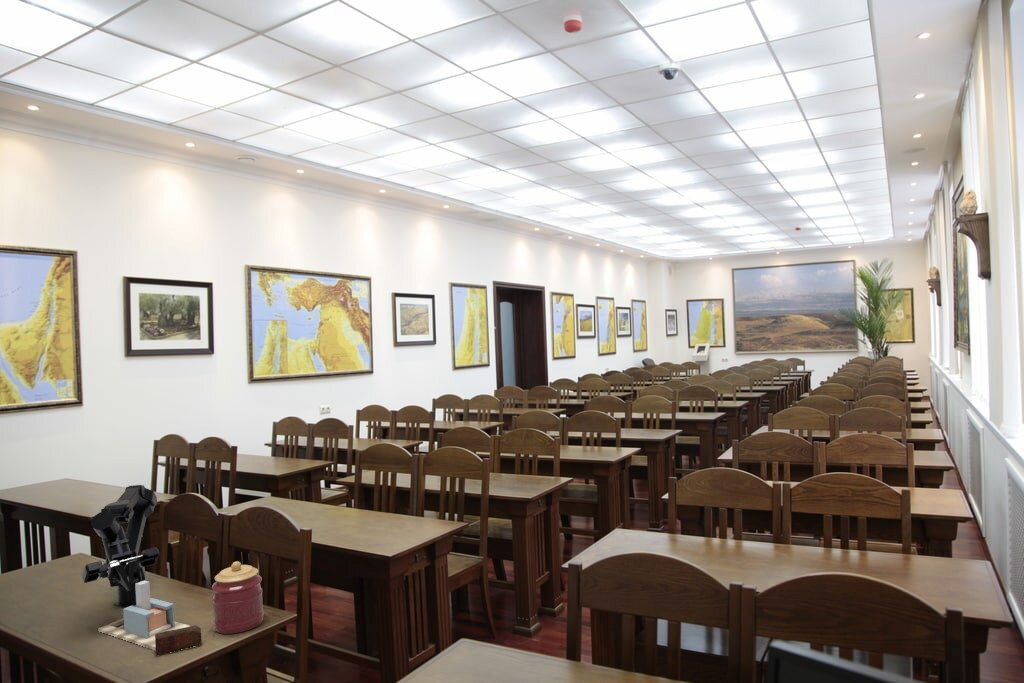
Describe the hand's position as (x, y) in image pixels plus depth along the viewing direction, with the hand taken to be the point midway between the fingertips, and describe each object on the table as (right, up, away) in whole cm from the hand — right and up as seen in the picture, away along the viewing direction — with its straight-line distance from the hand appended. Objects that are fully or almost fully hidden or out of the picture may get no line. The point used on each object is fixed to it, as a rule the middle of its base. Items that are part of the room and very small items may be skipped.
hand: (129, 590), depth 184 cm
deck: (+6, -11, -2) cm, 12 cm away
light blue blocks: (+7, -11, -3) cm, 13 cm away
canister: (+31, -10, 0) cm, 32 cm away
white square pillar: (+7, -10, -3) cm, 12 cm away
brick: (+21, -11, -13) cm, 27 cm away
